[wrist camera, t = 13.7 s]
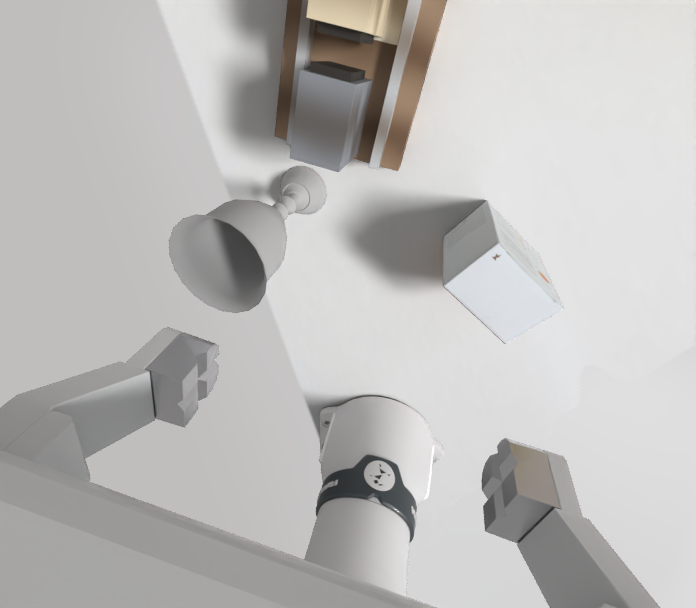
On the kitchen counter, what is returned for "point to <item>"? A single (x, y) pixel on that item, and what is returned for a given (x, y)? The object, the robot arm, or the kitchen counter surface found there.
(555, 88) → the kitchen counter surface
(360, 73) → the rail board
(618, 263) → the kitchen counter surface
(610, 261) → the kitchen counter surface
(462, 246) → the small box
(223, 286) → the chalice
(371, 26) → the birch finger
